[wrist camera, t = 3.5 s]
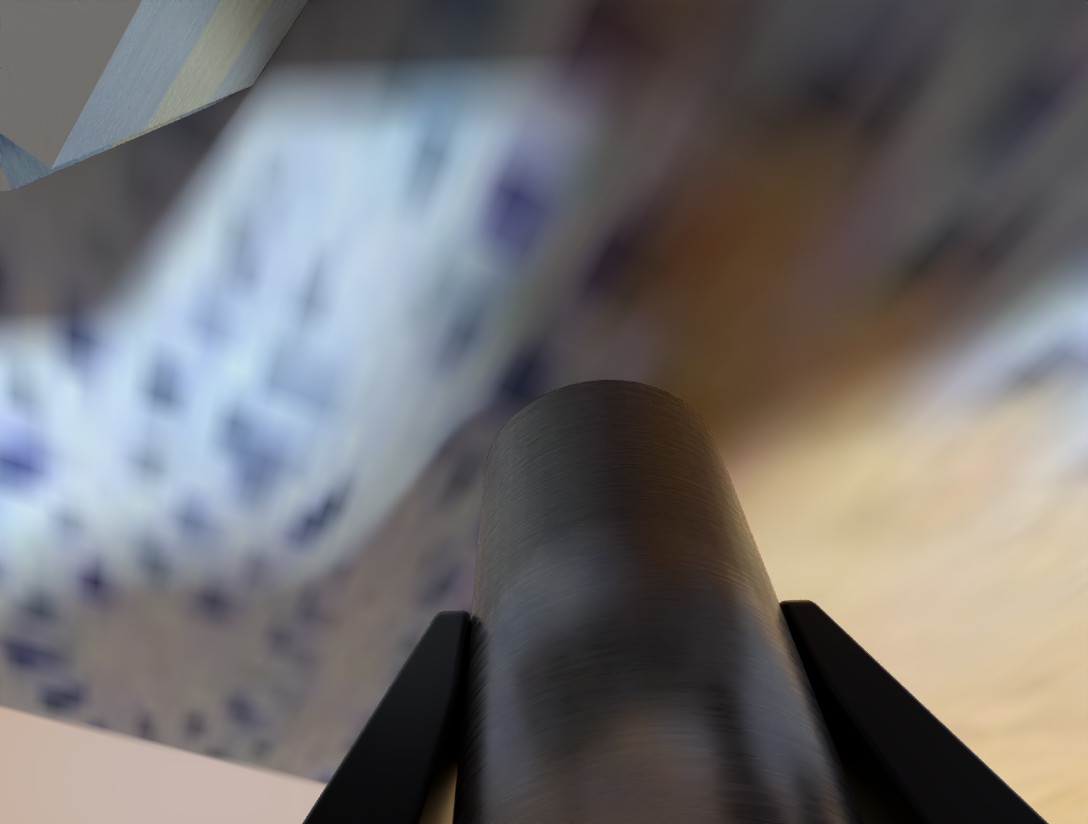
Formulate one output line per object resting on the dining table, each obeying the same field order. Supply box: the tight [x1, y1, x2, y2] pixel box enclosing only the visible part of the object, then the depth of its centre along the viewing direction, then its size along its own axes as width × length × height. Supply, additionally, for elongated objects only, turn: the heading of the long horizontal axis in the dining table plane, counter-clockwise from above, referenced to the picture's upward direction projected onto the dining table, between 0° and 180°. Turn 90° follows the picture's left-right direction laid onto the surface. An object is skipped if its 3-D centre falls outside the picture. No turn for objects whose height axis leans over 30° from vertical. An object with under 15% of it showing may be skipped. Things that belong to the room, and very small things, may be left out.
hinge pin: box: [452, 380, 865, 824], centre depth 7 cm, size 4×4×10 cm
